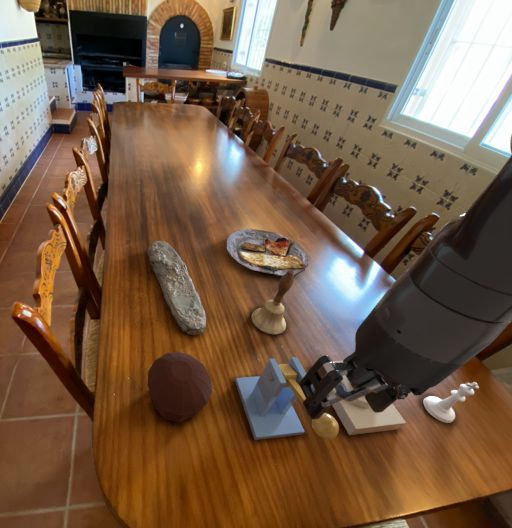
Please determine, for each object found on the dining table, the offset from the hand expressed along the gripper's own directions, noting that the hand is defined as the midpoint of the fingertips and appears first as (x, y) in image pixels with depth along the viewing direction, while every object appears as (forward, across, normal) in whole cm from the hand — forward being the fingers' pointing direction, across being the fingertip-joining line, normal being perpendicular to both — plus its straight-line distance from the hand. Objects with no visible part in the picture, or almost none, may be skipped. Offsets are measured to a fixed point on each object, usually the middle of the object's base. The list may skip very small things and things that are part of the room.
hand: (341, 408), depth 37 cm
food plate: (+20, +19, +55) cm, 62 cm away
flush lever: (+8, 0, +4) cm, 9 cm away
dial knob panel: (+19, +18, +9) cm, 28 cm away
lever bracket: (+19, 0, +9) cm, 21 cm away
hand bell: (+20, +9, +29) cm, 36 cm away
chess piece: (+19, +34, +5) cm, 39 cm away
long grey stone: (+20, -13, +43) cm, 49 cm away
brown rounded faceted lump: (+20, -17, +12) cm, 29 cm away
